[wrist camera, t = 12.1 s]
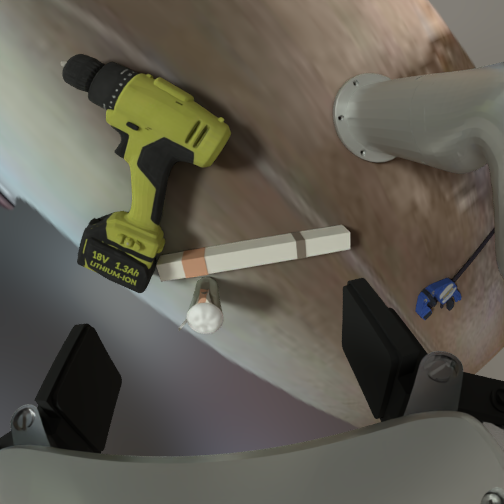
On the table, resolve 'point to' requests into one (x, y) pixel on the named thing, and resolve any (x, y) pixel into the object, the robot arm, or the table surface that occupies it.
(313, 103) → the table surface
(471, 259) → the bar clamp
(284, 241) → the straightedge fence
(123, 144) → the cordless drill
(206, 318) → the milkshake
